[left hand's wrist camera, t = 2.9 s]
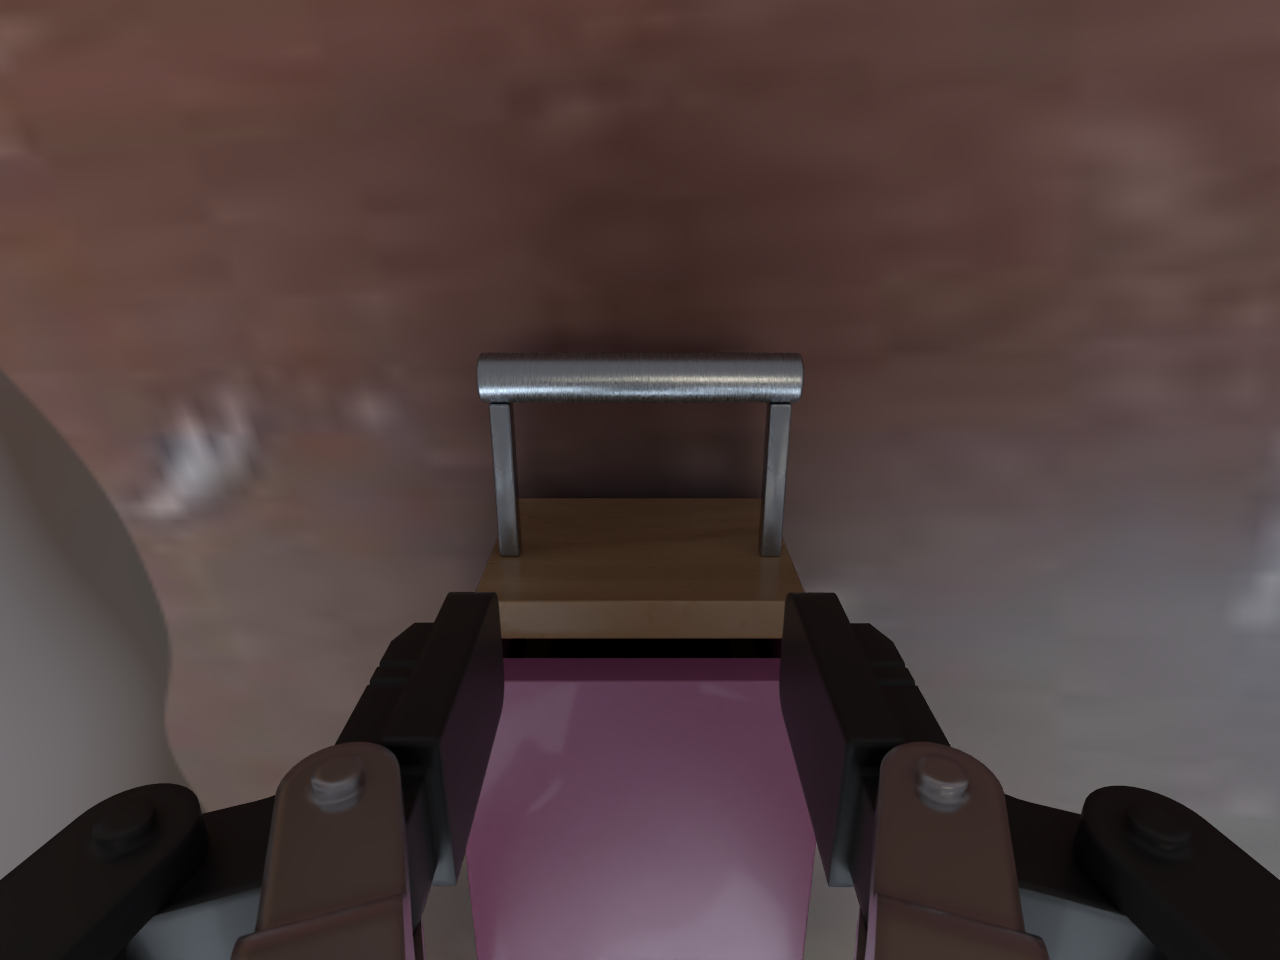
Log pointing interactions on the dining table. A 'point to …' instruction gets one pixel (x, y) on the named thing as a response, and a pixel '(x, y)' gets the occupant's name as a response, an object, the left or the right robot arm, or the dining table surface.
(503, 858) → the purple rectangular box
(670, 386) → the drawer
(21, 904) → the left robot arm
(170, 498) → the dining table surface
